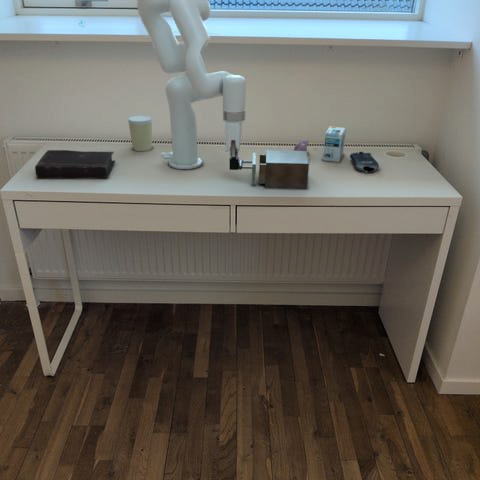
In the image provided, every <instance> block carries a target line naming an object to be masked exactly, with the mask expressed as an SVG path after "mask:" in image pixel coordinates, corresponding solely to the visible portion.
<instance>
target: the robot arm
mask: <svg viewBox="0 0 480 480" xmlns="http://www.w3.org/2000/svg"><path fill="white" fill-rule="evenodd" d="M136 1H137V4H136V5H137V13H138V16H139V18H140V21H141V24H142V25H143V28H145V30H146V33H147V35H148V36H149V40H150V42H151V45H152V47H153V50H154V53H155V55H156V58H157V61H158V63H159V66H160V68H161V70H162V71H163V72H164V73H165V74H168V75H169V74H178V73H182V72H184V73H185V74H181V75H176V76H173V77H171V78H170V79H169V80H167V82H166V85H165V95H166V99H167V104H168V109H169V119H170V136H171V151H169V152H161V153H160V158H163V160H169V161H168V165H169V166H170V167H171V168H173V169H178V170H192V169H197V168H199V167H201V166H202V164H203V161H202V159H201V158H200V157H198V131H197V127H198V126H197V114H196V111H195V109H194V108H193V105H192V103H196V102H201V101H203V100H209V99H215V98H219V97H222V121H223V122H224V123H225V152H226V153H228V152H229V159H228V160H229V165H228V167H229V171H239V169H238V166H239V160H240V157H239V152H240V151H241V145H242V144H241V143H242V127H243V126H242V123H244V122H245V121H246V90H247V89H246V87H247V86H246V82H247V81H246V79H245V77H244V76H242V75H238V74H232V73H230V72H228V71H225V70H222V71H215V72H210V73H208V71H207V68H206V65H205V63H204V60H203V57H202V54H201V52H202V51H203V50H204V49H205V48H206V47H207V46H208V45H209V43H210V41H211V36H210V33H209V32H208V29H207V27H206V25H205V21H206V20H208V19H209V17H210V16H211V12H212V11H211V10H212V9H211V8H212V7H211V3H210V1H209V0H136ZM168 13H170V15H171V18H172V19H173V21H174V24H175V26H176V29H177V30H178V32H179V35H180V37H181V39H182V41H178V40H177V37H176V34H175V32H174V29H173V27H172V25H171V24H170V23H169V21H168V20H167V19H166V18H165V17H164V16H163V14H168Z"/></svg>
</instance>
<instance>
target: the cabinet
mask: <svg viewBox="0 0 480 480" xmlns="http://www.w3.org/2000/svg"><path fill="white" fill-rule="evenodd" d="M307 151H308V150H307ZM307 151H295V150H281V149H280V150H279V149H278V150H277V149H276V150H273V149H265V154H266V178H265V184H264V189H276V190H277V189H278V190H279V189H280V190H283V189H284V190H308V183H309V182H308V181H309V170H310V162H309V157H308V152H307Z"/></svg>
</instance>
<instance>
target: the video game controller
mask: <svg viewBox="0 0 480 480" xmlns="http://www.w3.org/2000/svg"><path fill="white" fill-rule="evenodd" d="M309 143H310V142H309V140H308V139H305V138H304V139H302V140H301V141H300V142H298V143H297V144H296V145H295V146H294V147H293V148H294V149H293V151H308V149H307V148H308V145H309Z"/></svg>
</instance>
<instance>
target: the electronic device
mask: <svg viewBox="0 0 480 480" xmlns="http://www.w3.org/2000/svg"><path fill="white" fill-rule="evenodd" d="M349 158H350V160H351V161H352V163H353V166H354V168H355V170H357V171H359V172H362V173H373V172H376V171H378V170H379V168H380V165H379V162H378V161H377V160H376V159H375V158H374V157H373V156H372V152H364V151H359V152H358V151H357V152H351V153H350V154H349Z"/></svg>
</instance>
